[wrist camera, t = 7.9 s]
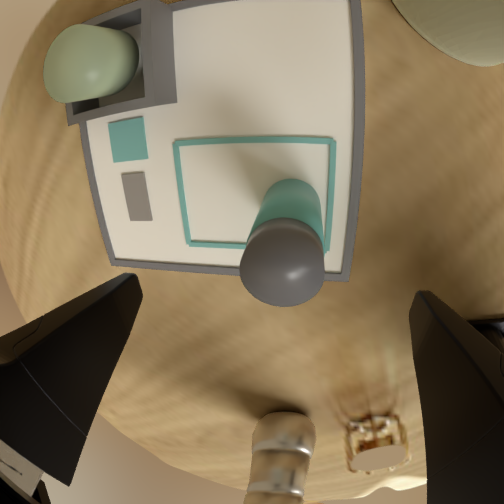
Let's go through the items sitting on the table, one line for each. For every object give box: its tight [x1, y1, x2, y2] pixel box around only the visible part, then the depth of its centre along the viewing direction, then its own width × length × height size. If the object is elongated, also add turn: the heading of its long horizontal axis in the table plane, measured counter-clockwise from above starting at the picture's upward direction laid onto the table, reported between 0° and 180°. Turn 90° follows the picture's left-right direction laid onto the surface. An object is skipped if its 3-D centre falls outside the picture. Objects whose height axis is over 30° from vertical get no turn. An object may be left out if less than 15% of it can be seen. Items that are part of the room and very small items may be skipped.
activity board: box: [65, 0, 365, 282], centre depth 13 cm, size 16×16×3 cm
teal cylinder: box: [239, 179, 325, 307], centre depth 13 cm, size 3×3×6 cm
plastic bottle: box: [243, 412, 316, 504], centre depth 19 cm, size 6×7×20 cm
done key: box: [43, 24, 139, 103], centre depth 9 cm, size 4×4×3 cm
